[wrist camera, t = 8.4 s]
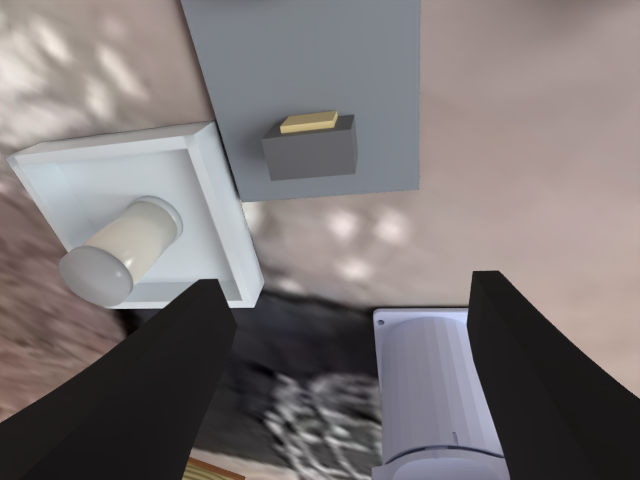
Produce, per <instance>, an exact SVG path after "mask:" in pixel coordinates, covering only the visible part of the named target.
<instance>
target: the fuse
mask: <svg viewBox="0 0 640 480" xmlns="http://www.w3.org/2000/svg"><path fill="white" fill-rule="evenodd" d="M182 232H183V221H182V218H181V216H180V214H179V213H178V211H177V210H176V209H175V208H174V207H173V206H172V205H171V204H170V203H168V202H167V201H165V200H163V199H161V198H159V197H156V196H149V195H147V196H141V197H139V198H137V199H136V200H135V201H133V202H132V203H131V204H130V205H129V206H128V207H127V209H126V210H125V211H124V212H122V213H121V214H120V215H119V216H117V217H116V218H115V219H114V220H112V221H111V222H110V223H109V224H107V225H106V226H105V227H104V228H102V229H101V230H100V231H99V232H97V233H96V234H95V235H94V236H92V237H91V238H90V239H89V240H87V241H86V242H85V243H83V244H82V245H81V246H80V247H76V248H74V249H72V250H71V251H70V252H69V253H67V254H66V255H65V256H63V257H62V258H61V260H60V261H59V264H58V270H59V274H60V276H61V278H62V280H63V281H64V283H65V284H66V285H67V286H68V287H69V288H70V289H71V290H72V291H73V292H74V293H75V294H77V295H78V296H80V297H81V298H83V299H85V300H86V301H89V302H91V303H94V304H97V305H101V306H116V305H119V304H121V303H122V302H123V301H124V300H125V299H126V298H127V296H128V295H129V294H130V293H131V292H132V290H133V287H134V285H135V284H136V283H137V282H138V281H139V280H140V279H141V278H142V276H143V275H144V274H145V273H146V272H147V271H148V270H149V268H150V267H151V266H152V265H153V264H154V263H155V262H156V261H157V259H158V258H159V257H160V256H161V255H162V254H163V253H164V251H165V250H166V249H167V248H168V247H169V246H170V245H172V244H173V243H175V241H176V240H177V239H178V238H179V237H180V236H181V234H182Z"/></svg>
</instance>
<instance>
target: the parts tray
mask: <svg viewBox="0 0 640 480" xmlns="http://www.w3.org/2000/svg"><path fill="white" fill-rule="evenodd" d="M5 158H6V160H7V161H8V163H9V164H10V166H11V167H12V169H13V170H14V172H15V173H16V175H17V176H18V178H19V179H20V181H21V182H22V184H23V185H24V187H25V188H26V190H27V191H28V193H29V194H30V196H31V197H32V199H33V200H34V202H35V203H36V205H37V206H38V208H39V209H40V211H41V212H42V214H43V215H44V217H45V218H46V220H47V221H48V223H49V224H50V226H51V227H52V229H53V230H54V232H55V233H56V235H57V236H58V238H59V239H60V241H61V242H62V244H63V245H64V247H65V248H66V250H67V251H68V253H69V252H70V251H71V250H72V249H74V248H76V247H80V246H81V245H82V244H83V243H85V242H86V241H87V240H89V239H90V238H91V237H92V236H94V235H95V234H96V233H97V232H99V231H100V230H101V229H102V228H104V227H105V226H106V225H107V224H109V223H110V222H111V221H112V220H114V219H115V218H116V217H117V216H119V215H120V214H121V213H122V212H124V211H125V210H126V209H127V207H128V206H129V205H130V204H131V203H132V202H133V201H135V200H136V199H137V198H139V197H141V196H147V195H149V196H156V197H159V198H161V199H163V200H165V201H167V202H168V203H170V204H171V205H172V206H173V207H174V208H175V209H176V210H177V211H178V213H179V214H180V216H181V218H182V221H183V232H182V234H181V236H180V237H179V238H178V239H177V240H176V241H175V243H173V244H172V245H170V246H169V247H168V248H167V249H166V250H165V251H164V253H163V254H162V255H161V256H160V257H159V258H158V259H157V261H156V262H155V263H154V264H153V265H152V266H151V267H150V268H149V270H148V271H147V272H146V273H145V274H144V275H143V276H142V278H141V279H140V280H139V281H138V282H137V283H136V284H135V285H134V287H133V290H132V292H131V293H130V294H129V295H128V296H127V298H126V299H125V300H124V301H123V302H122V303H121V304H119V305H116V306H104V307H105V309H125V308H164V307H165V306H166V305H168V304H169V303H170V302H171V301H172V300H174V299H175V298H176V297H177V296H178V295H180V294H181V293H182V292H183V291H185V290H186V289H187V288H188V287H190V286H191V285H192V284H193V283H195V282H196V281H198V280H199V279H218V281H219V283H220V285H221V288H222V290H223V293H224V295H225V298H226V300H227V302H228V305H229V307H230V308H254V306H255V304H256V301H257V299H258V297H259V294H260V292H261V289H262V287H263V285H264V279H263V276H262V272H261V269H260V266H259V262H258V259H257V256H256V253H255V249H254V246H253V243H252V240H251V236H250V233H249V230H248V227H247V223H246V220H245V217H244V213H243V210H242V207H241V204H240V200H239V197H238V194H237V191H236V187H235V184H234V181H233V177H232V174H231V171H230V168H229V164H228V161H227V158H226V155H225V151H224V148H223V145H222V142H221V138H220V135H219V132H218V128H217V125H216V122H215V120H214V121H206V122H198V123H190V124H182V125H174V126H166V127H159V128H151V129H143V130H135V131H127V132H119V133H111V134H103V135H95V136H87V137H79V138H71V139H63V140H55V141H47V142H41V143H39V144H36V145H34V146H31V147H29V148H26V149H24V150H21V151H19V152H16V153H13V154H11V155H8V156H6V157H5Z"/></svg>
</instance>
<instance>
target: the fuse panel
mask: <svg viewBox="0 0 640 480" xmlns="http://www.w3.org/2000/svg"><path fill="white" fill-rule="evenodd" d="M181 3H182V7H183V10H184V13H185V17H186V20H187V23H188V27H189V30H190V33H191V36H192V40H193V43H194V46H195V50H196V53H197V56H198V60H199V63H200V66H201V69H202V73H203V76H204V79H205V83H206V86H207V89H208V93H209V96H210V99H211V102H212V106H213V109H214V112H215V116H216V119H217V122H218V126H219V129H220V132H221V135H222V139H223V142H224V145H225V149H226V152H227V155H228V159H229V162H230V165H231V168H232V172H233V175H234V178H235V182H236V185H237V188H238V192H239V195H240V198H241V201H242V202H254V201H268V200H281V199H295V198H309V197H323V196H336V195H350V194H364V193H378V192H391V191H405V190H419V95H420V0H181Z"/></svg>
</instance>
